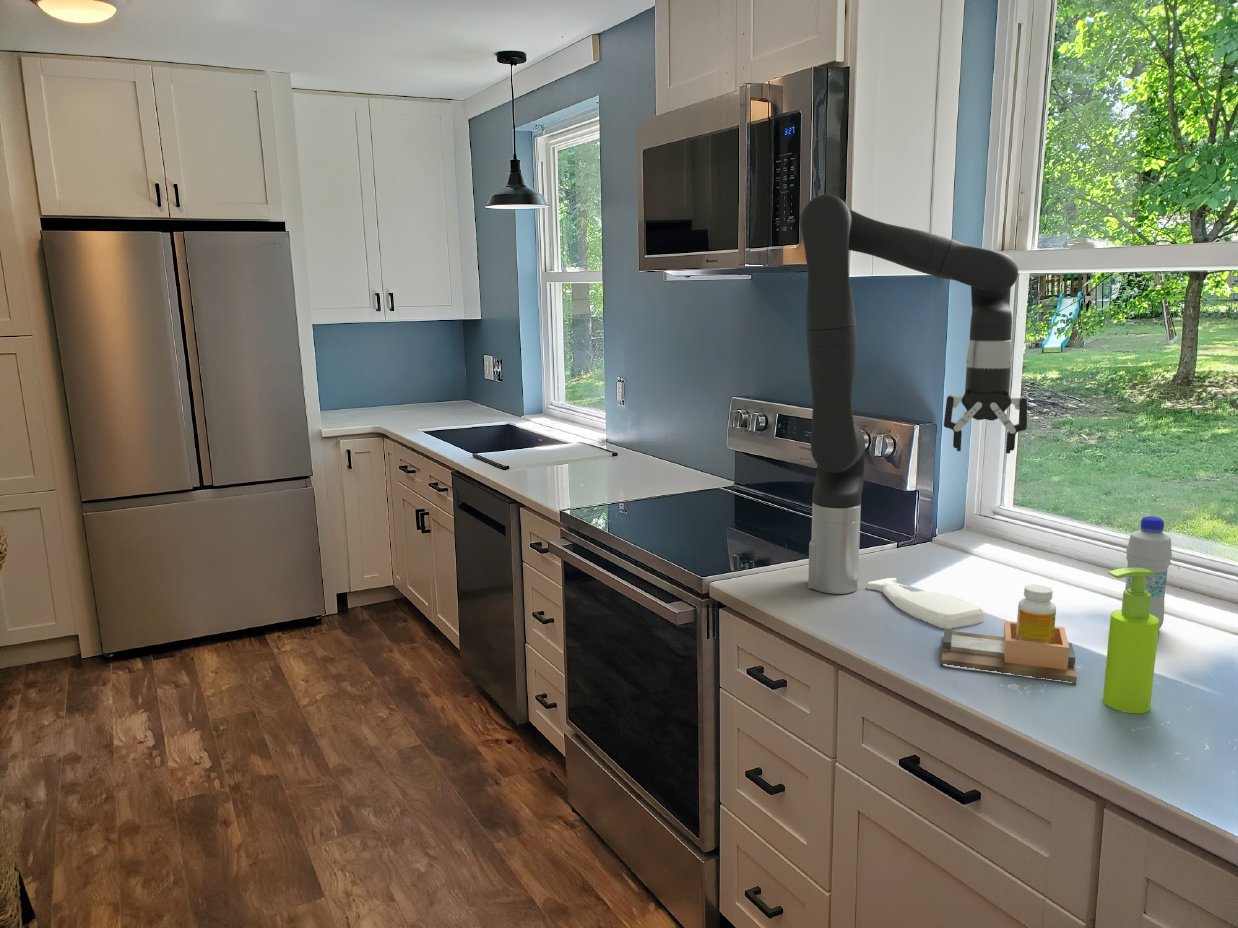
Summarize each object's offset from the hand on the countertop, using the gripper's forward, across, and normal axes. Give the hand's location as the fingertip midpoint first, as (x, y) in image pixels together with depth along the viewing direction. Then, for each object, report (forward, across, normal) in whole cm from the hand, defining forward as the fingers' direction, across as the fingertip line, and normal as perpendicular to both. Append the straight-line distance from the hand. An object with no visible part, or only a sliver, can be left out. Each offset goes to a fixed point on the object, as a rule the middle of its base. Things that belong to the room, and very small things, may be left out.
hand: (982, 451), depth 168 cm
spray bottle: (+29, +10, +9) cm, 32 cm away
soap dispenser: (+28, -20, +42) cm, 54 cm away
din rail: (+27, -5, +30) cm, 41 cm away
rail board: (+28, -5, +30) cm, 42 cm away
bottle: (+28, -27, +9) cm, 40 cm away
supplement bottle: (+26, -9, +31) cm, 41 cm away
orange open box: (+27, -9, +31) cm, 42 cm away
